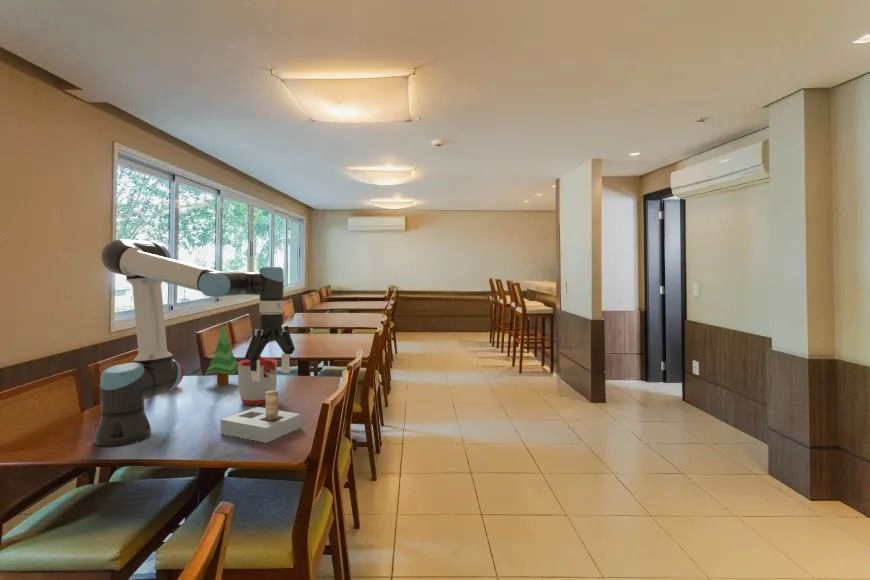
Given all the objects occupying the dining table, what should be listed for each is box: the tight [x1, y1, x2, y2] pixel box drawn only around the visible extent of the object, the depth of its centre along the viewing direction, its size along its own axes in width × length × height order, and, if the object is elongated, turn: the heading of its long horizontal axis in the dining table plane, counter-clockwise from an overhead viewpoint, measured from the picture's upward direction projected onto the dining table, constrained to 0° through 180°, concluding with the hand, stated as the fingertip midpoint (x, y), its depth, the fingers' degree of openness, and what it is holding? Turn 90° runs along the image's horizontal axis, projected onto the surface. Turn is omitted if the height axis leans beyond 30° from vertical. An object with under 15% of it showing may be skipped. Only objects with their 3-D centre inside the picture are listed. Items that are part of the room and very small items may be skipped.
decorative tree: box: [204, 322, 239, 387], centre depth 220 cm, size 14×16×30 cm
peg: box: [265, 390, 279, 422], centre depth 154 cm, size 4×4×14 cm
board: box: [220, 406, 302, 444], centre depth 157 cm, size 16×20×5 cm
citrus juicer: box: [237, 355, 278, 406], centre depth 191 cm, size 16×17×20 cm
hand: (271, 376), depth 154 cm, fingers open, 13 cm apart
